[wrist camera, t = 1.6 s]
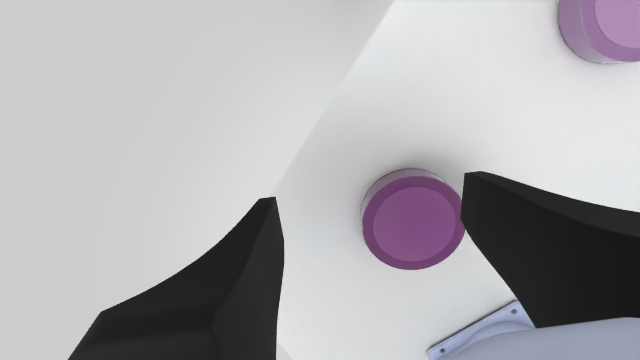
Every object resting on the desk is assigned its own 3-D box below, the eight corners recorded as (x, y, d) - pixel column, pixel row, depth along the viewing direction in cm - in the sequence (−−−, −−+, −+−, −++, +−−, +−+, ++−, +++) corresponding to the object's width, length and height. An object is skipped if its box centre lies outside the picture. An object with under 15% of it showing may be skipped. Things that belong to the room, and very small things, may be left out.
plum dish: (396, 272, 27) (400, 287, 25) (340, 206, 26) (341, 217, 24) (475, 222, 25) (486, 234, 23) (421, 148, 24) (429, 154, 22)
